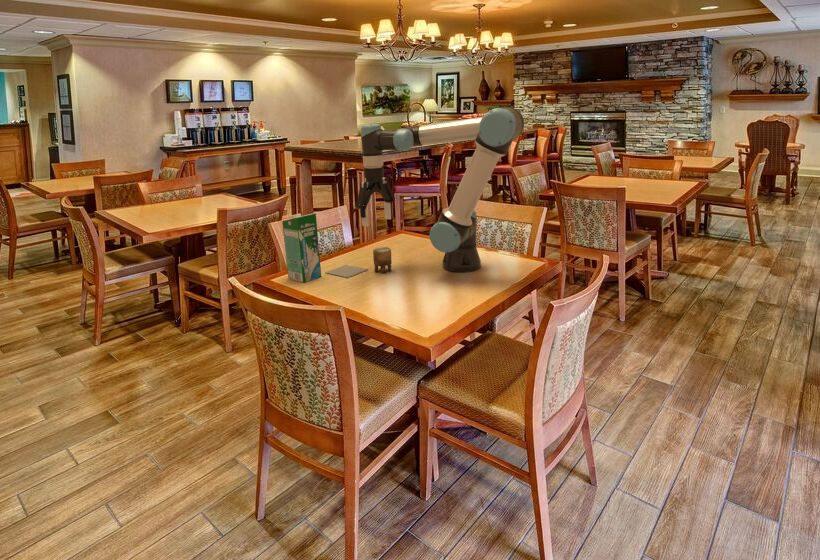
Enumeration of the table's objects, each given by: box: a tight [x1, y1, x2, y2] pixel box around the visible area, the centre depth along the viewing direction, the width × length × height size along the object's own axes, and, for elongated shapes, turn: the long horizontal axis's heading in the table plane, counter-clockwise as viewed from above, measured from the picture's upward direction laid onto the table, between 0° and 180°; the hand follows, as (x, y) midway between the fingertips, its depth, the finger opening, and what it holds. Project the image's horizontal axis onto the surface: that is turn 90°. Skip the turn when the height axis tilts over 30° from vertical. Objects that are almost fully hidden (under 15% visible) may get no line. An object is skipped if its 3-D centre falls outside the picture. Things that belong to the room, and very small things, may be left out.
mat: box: [324, 264, 369, 279], centre depth 222 cm, size 12×12×1 cm
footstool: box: [372, 246, 393, 274], centre depth 220 cm, size 7×7×9 cm
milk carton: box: [281, 213, 322, 283], centre depth 213 cm, size 9×9×25 cm
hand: (377, 222), depth 218 cm, fingers open, 13 cm apart
